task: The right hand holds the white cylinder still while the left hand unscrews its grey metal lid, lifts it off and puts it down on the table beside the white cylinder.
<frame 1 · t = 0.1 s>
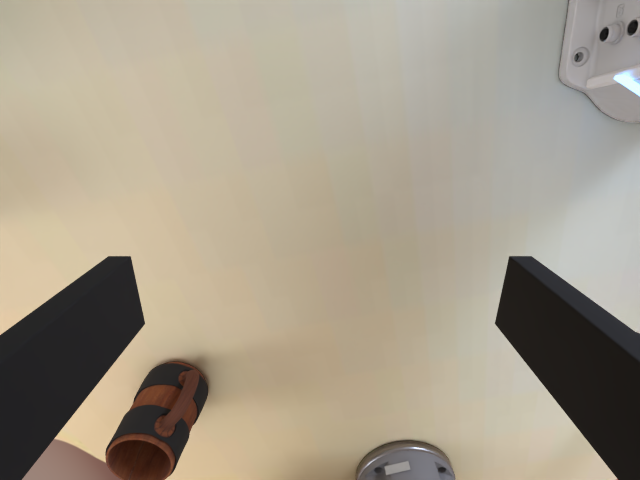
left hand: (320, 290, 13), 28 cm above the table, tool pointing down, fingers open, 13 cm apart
mug: (186, 375, 49), on the table
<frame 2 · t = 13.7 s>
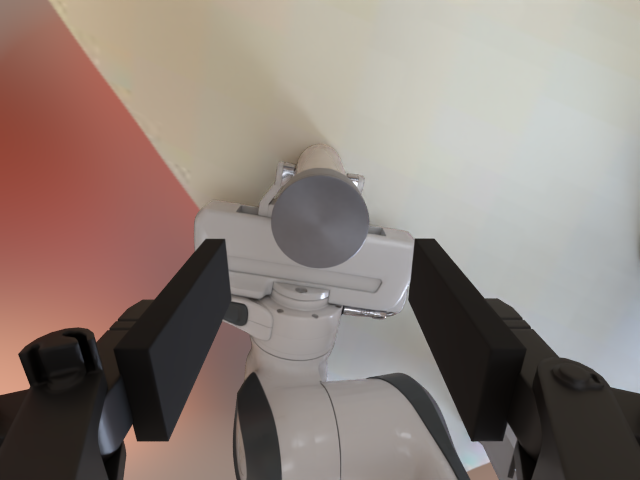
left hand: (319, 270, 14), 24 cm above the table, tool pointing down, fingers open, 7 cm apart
right hand: (321, 169, 30), fingers closed on white cylinder, 4 cm apart
white cylinder: (319, 166, 37), on the table, touching right hand
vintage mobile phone: (489, 420, 49), on the table
lid: (320, 222, 20), point 18 cm above the table, screwed on, not yet turned
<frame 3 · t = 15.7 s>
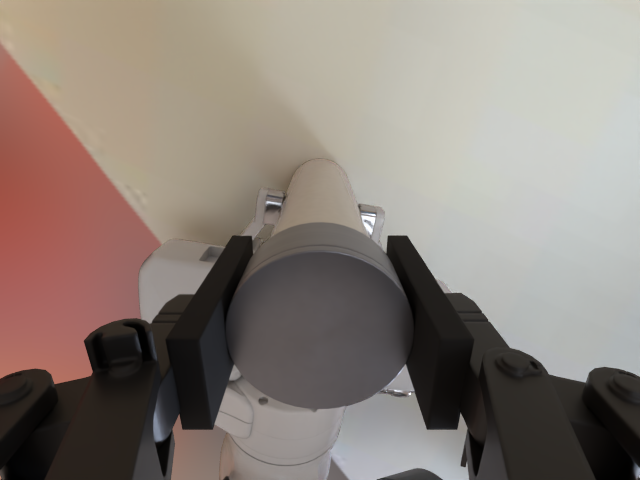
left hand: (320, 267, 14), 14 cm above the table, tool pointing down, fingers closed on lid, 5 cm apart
white cylinder: (319, 188, 27), on the table, touching right hand
lid: (319, 330, 10), point 18 cm above the table, screwed on, not yet turned, touching left hand
when the left hand's fingers open (14 cm above the table, at t = 17.1 s): lid stays where it is, point 19 cm above the table.
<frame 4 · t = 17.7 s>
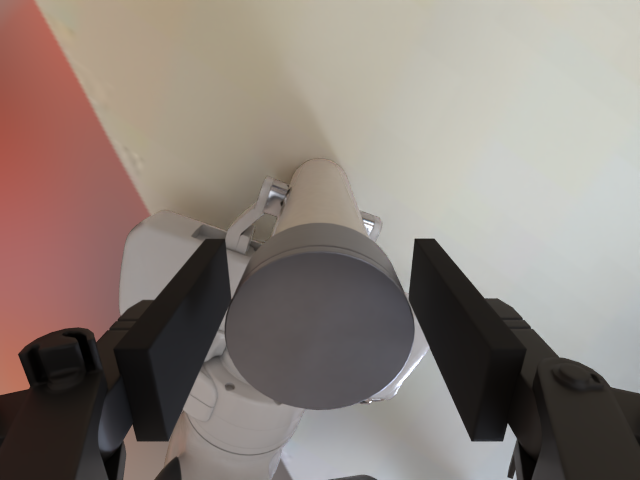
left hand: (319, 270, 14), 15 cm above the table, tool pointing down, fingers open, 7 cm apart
white cylinder: (319, 188, 28), on the table, touching right hand
lid: (319, 331, 10), point 19 cm above the table, turned 79° so far, risen 0.3 cm, still on its thread
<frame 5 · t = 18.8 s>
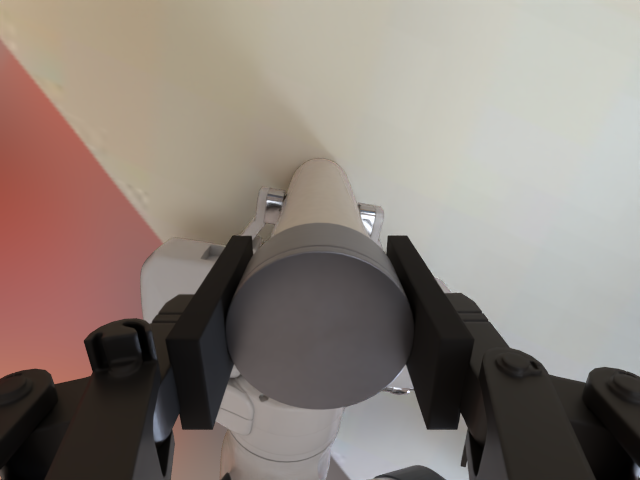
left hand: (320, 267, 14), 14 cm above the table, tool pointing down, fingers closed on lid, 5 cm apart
white cylinder: (319, 188, 28), on the table, touching right hand
lid: (319, 331, 10), point 18 cm above the table, turned 79° so far, risen 0.3 cm, still on its thread, touching left hand
when the left hand's fingers open (0 cm above the table, at t = 26.0 s): lid stays where it is, point 2 cm above the table.
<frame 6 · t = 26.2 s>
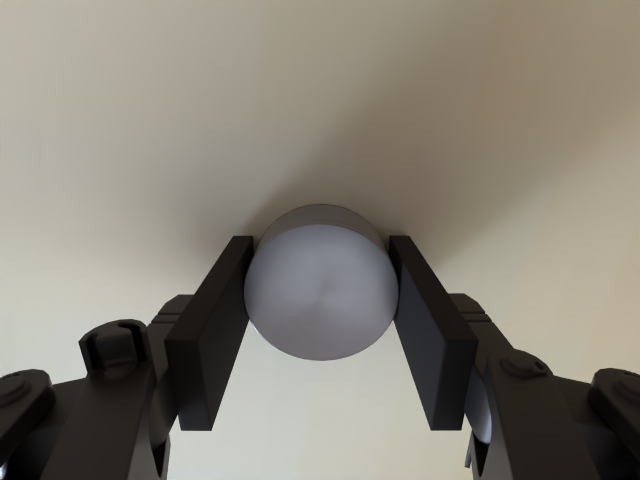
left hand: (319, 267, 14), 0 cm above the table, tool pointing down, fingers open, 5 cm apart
lid: (321, 292, 12), point 2 cm above the table, off its thread, touching left hand
when the right hand's fingers open (7 cm above the table, at t = 27.1 s): white cylinder stays where it is, on the table.
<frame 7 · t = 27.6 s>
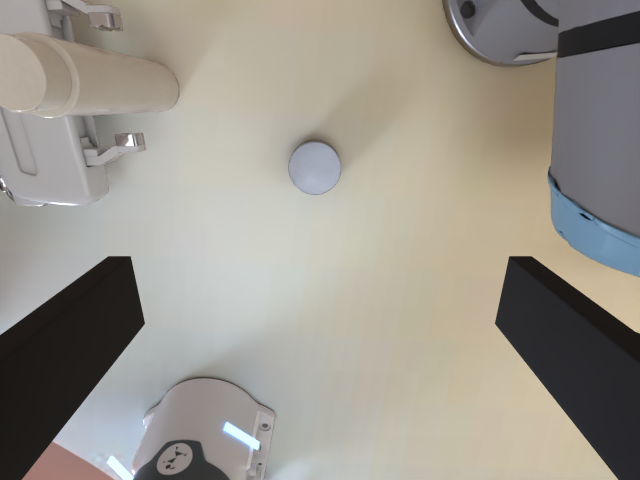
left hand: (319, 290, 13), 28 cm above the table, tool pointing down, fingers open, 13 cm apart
right hand: (130, 83, 29), fingers open, 8 cm apart
white cylinder: (156, 87, 36), on the table
lid: (314, 168, 37), point 2 cm above the table, off its thread
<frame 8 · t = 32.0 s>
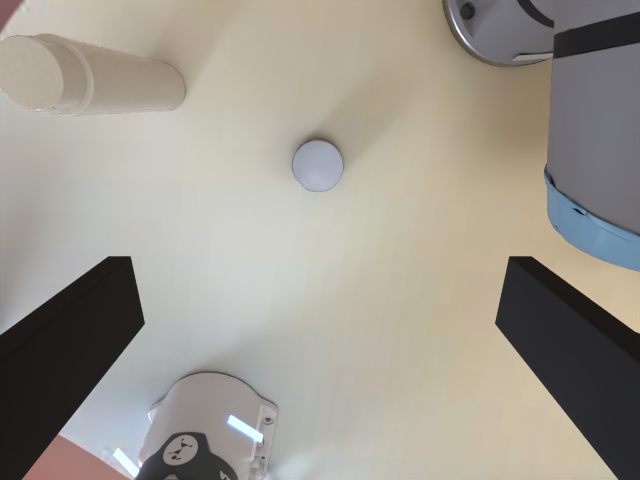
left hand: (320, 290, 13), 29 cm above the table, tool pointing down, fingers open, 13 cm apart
white cylinder: (163, 87, 36), on the table
lid: (317, 166, 37), point 2 cm above the table, off its thread
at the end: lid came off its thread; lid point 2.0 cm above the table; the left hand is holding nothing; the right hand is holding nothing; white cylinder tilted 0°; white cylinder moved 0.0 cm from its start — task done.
